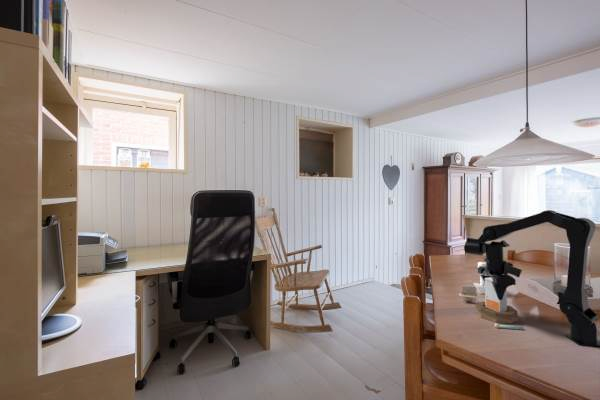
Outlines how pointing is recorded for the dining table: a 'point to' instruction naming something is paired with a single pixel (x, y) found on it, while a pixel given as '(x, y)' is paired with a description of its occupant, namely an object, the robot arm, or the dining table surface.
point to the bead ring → (497, 314)
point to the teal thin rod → (508, 327)
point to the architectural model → (469, 293)
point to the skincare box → (494, 297)
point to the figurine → (481, 285)
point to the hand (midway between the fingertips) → (495, 296)
